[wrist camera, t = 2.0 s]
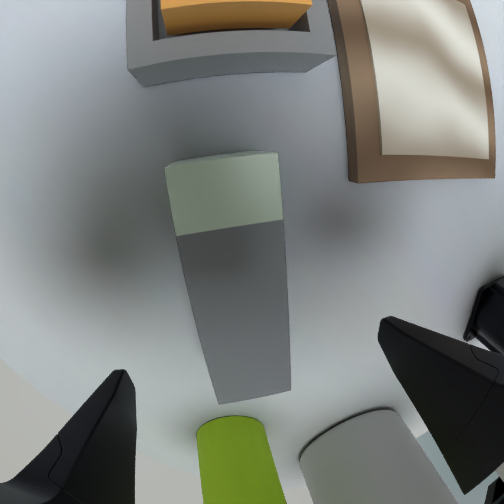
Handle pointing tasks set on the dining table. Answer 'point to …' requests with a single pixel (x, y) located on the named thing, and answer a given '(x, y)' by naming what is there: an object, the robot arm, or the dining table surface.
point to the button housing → (222, 46)
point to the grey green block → (235, 268)
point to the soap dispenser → (237, 463)
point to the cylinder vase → (372, 464)
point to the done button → (230, 14)
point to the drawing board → (414, 90)
